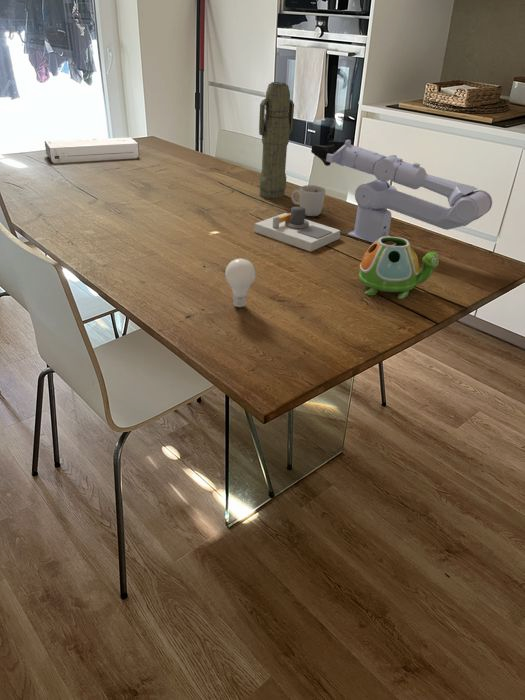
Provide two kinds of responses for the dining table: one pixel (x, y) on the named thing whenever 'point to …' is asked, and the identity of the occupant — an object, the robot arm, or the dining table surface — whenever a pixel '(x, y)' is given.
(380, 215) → the robot arm
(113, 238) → the dining table surface
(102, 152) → the laminator
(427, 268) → the turtle holder
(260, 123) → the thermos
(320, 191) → the cup
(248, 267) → the lightbulb
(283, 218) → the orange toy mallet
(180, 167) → the dining table surface
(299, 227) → the plug
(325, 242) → the socket board
